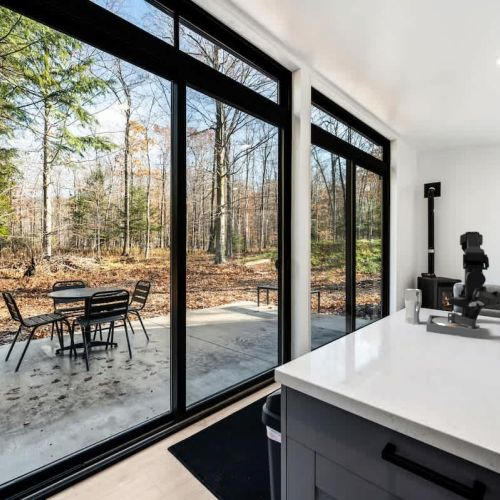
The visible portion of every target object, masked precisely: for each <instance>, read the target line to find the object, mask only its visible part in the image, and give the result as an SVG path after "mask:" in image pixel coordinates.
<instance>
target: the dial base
mask: <svg viewBox="0 0 500 500" xmlns="http://www.w3.org/2000/svg"><path fill="white" fill-rule="evenodd" d="M440 317H443V318H448V316H443V315H435V314H434V315H433V314H429V315H428V318H427V321H426V325H425V326H426V332H427V333H435V334H443V335H450V336H457V337H464V338H472V339H477V340H478V339H479V340H481V332H482V331H481V327H480V323H479V320H478V319H477V320H476V321H475V329H470V328H462V327H456V326H451V325H449V326H447V325H439V324H432V319H433V318H440Z"/></svg>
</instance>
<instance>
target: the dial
mask: <svg viewBox="0 0 500 500" xmlns="http://www.w3.org/2000/svg"><path fill="white" fill-rule="evenodd" d="M447 317H448V318H443V317H440V318H433V319H432V324H439V325H447V326H449V325H451V326H456V327H462V328H470V329H475V319H473V318H470V317H466V316H462V315H461V314H458V313H456V312H447Z"/></svg>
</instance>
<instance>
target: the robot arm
mask: <svg viewBox="0 0 500 500" xmlns="http://www.w3.org/2000/svg"><path fill="white" fill-rule="evenodd" d="M483 243H484V238H483V234H481V233H480V231H465V233H462V234H460V236H459V245H460V246H461V250H462V251H463V254H462V269H463V270H464V284H462V288H461V289H460V290H459V294H458V295H457V296H452V297H451V296H450V298H448V305H451V306H454V307H457V308H461V309H460V310H461V314H460V315H462V316H466V317H470V318H473V319H475V321H476V320H478V316H479V315H480V312H481V310H483V309H485V308H487V307H488V306H496V305H500V292H499V291H498V290H497V291H488V290H487V287H486V286H485V284H486V281H487V280H486V279H487V278H486V276H485V274H484V271H488V268H490V260H489V257H488V254H486V252H485V250H484V249H483V248H482V247H481V246H483V245H484V244H483Z"/></svg>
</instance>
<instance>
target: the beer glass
mask: <svg viewBox="0 0 500 500" xmlns="http://www.w3.org/2000/svg"><path fill="white" fill-rule="evenodd" d="M403 298H404V307H405V315H406V316H405V323H407V324H412V325H420V324H421V321H420V312H421V306H422V299H423V298H422V290H421V289H418V288H404V297H403Z"/></svg>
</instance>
